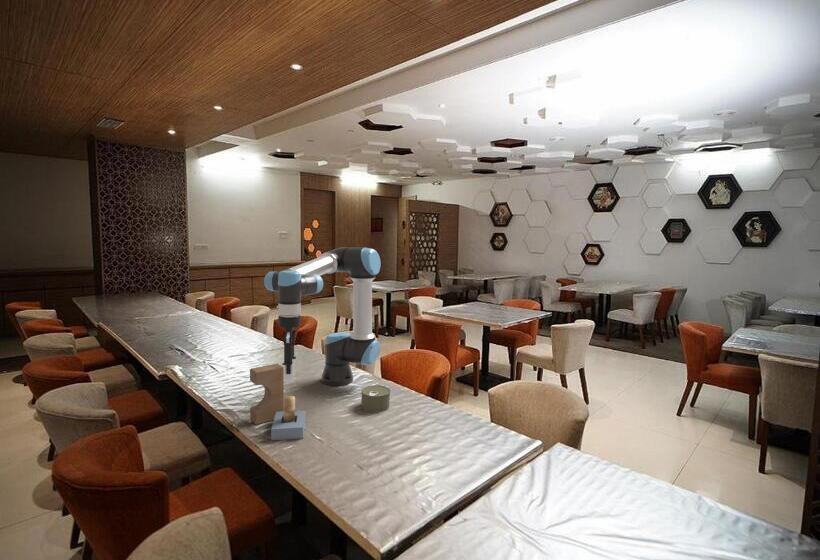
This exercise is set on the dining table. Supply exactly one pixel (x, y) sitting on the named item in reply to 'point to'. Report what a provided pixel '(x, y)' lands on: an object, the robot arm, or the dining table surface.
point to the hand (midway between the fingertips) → (289, 379)
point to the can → (375, 398)
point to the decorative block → (268, 392)
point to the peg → (288, 409)
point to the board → (288, 427)
